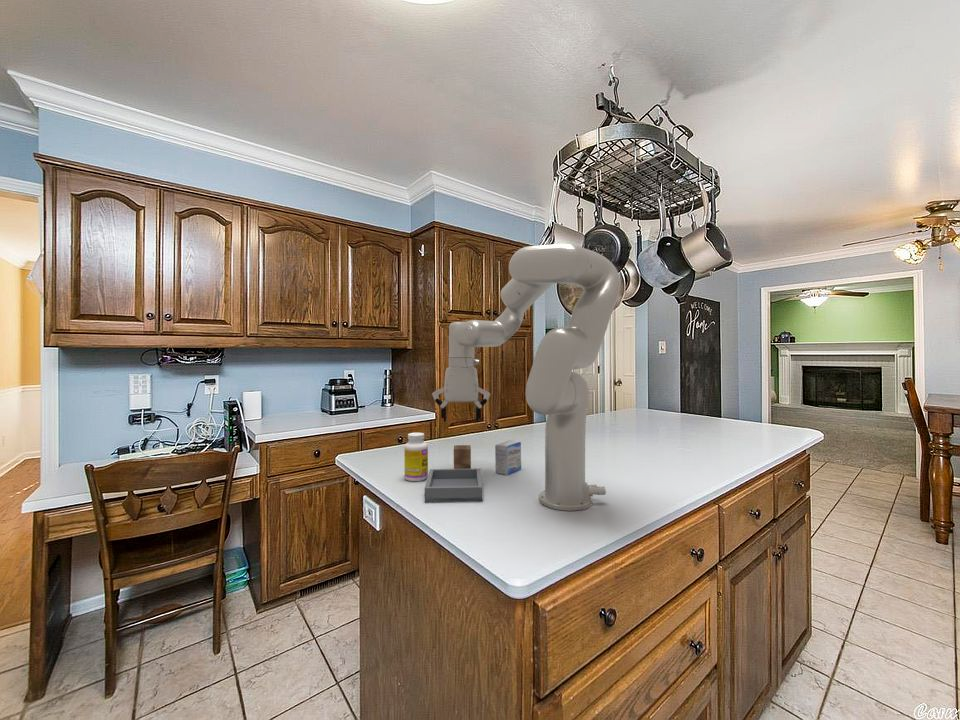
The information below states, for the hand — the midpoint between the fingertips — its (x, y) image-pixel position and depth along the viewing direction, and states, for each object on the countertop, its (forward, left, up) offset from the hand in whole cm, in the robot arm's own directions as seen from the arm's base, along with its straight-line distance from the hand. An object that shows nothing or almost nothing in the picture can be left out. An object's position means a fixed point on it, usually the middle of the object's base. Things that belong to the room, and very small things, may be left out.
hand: (461, 420), depth 123 cm
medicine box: (-14, -2, -16) cm, 21 cm away
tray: (+2, +15, -16) cm, 22 cm away
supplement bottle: (+13, +4, -16) cm, 21 cm away
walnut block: (0, 0, -16) cm, 16 cm away
